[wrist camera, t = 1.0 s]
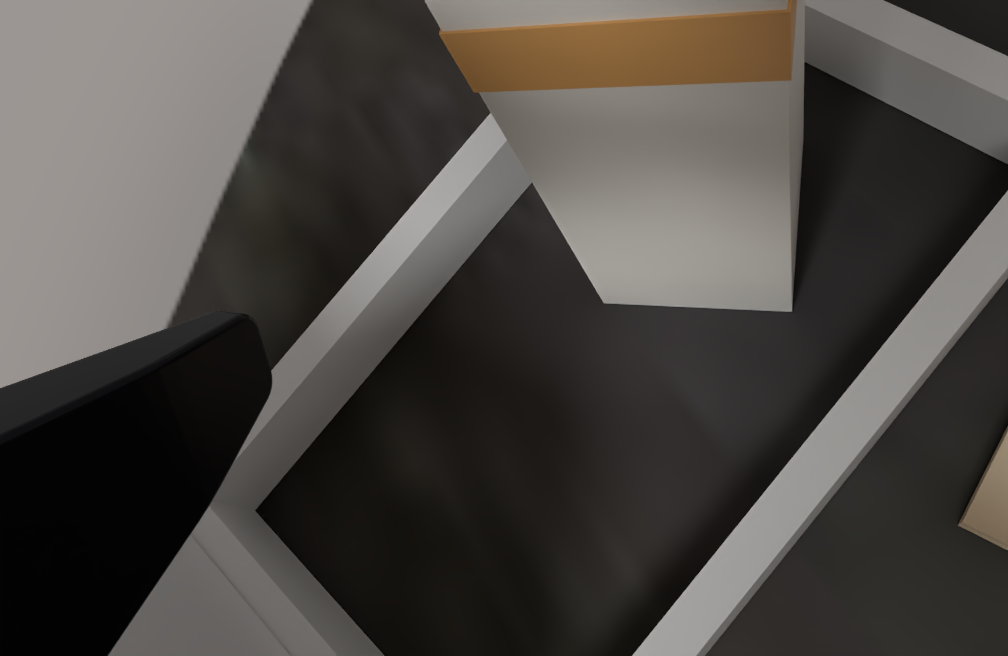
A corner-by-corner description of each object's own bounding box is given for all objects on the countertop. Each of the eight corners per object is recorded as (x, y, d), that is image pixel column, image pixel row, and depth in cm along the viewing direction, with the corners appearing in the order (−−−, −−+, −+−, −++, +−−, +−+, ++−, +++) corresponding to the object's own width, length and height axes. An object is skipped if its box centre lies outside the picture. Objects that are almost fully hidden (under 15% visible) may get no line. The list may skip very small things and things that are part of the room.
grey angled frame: (432, 994, 20) (-4, 1431, 9) (138, 603, 26) (-353, 583, 15) (1097, 166, 22) (1412, -322, 10) (679, -36, 27) (598, -494, 16)
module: (793, 314, 23) (790, -24, 11) (601, 304, 24) (421, 5, 13) (805, 138, 24) (813, -325, 12) (622, 141, 26) (477, -263, 14)
